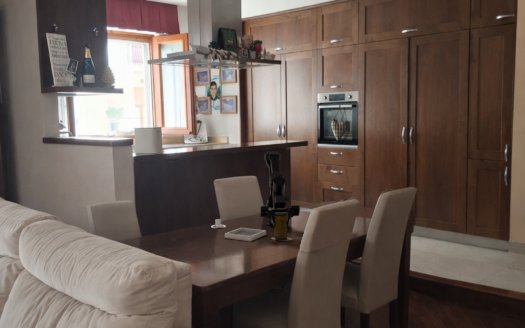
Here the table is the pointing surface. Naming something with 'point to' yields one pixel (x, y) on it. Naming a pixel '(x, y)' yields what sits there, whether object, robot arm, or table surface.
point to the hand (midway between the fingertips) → (281, 225)
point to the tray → (245, 234)
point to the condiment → (280, 227)
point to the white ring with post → (218, 224)
